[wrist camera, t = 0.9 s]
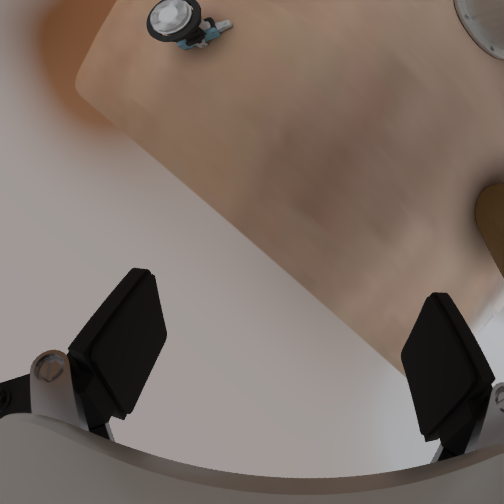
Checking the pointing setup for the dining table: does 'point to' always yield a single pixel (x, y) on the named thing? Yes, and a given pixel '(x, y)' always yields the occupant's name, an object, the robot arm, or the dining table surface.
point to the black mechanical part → (183, 24)
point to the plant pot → (492, 221)
